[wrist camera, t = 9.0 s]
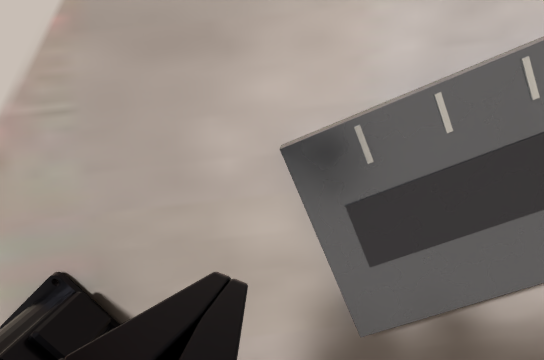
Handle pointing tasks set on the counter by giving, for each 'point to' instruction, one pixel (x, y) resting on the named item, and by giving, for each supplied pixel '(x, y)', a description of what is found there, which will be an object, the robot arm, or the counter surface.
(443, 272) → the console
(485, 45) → the counter surface
